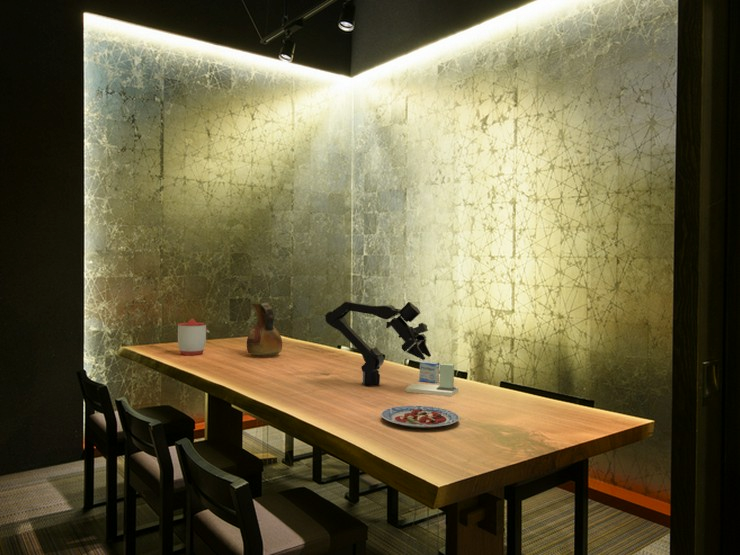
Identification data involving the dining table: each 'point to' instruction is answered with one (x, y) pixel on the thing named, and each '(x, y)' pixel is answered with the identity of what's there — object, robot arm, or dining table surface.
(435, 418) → the ceramic plate
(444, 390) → the ticket base
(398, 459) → the dining table surface
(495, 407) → the dining table surface
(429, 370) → the medicine box
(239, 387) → the dining table surface
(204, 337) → the citrus juicer
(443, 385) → the grey green upright block
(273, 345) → the ceramic pitcher
